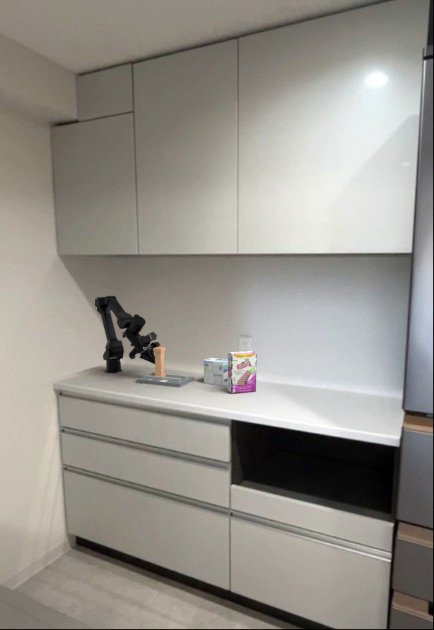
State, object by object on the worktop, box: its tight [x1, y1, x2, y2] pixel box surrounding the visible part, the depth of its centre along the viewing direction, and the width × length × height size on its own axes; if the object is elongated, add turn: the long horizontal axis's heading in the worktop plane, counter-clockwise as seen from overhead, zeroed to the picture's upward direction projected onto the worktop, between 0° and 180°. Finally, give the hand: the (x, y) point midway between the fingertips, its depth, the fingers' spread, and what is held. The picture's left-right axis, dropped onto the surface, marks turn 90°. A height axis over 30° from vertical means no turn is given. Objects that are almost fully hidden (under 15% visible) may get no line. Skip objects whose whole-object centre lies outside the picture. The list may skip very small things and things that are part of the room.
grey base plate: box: [136, 371, 195, 388], centre depth 197 cm, size 22×14×3 cm, turn 66°
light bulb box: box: [203, 357, 228, 387], centre depth 193 cm, size 11×7×11 cm, turn 58°
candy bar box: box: [227, 350, 258, 395], centre depth 178 cm, size 11×5×16 cm, turn 109°
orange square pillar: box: [153, 346, 167, 377], centre depth 197 cm, size 4×4×13 cm
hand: (156, 363), depth 198 cm, fingers closed, pressing on orange square pillar
